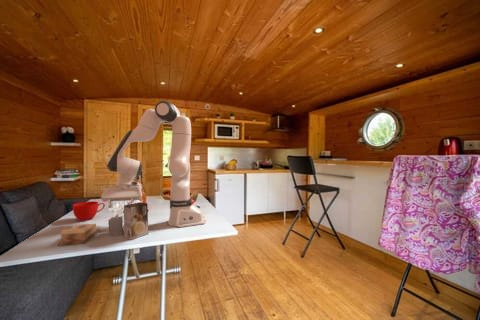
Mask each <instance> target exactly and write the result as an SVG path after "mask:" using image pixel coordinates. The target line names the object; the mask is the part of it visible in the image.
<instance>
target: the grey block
mask: <svg viewBox="0 0 480 320" xmlns="http://www.w3.org/2000/svg"><path fill="white" fill-rule="evenodd" d="M123 226H124V219H123V216H114V217H112V216H111V217H110V218H109V219H108V236H109V237H112V236H121V234H122V233H123V230H124V228H123Z"/></svg>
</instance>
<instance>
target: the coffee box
mask: <svg viewBox="0 0 480 320" xmlns="http://www.w3.org/2000/svg"><path fill="white" fill-rule="evenodd" d="M148 206H149V205H148V203H147V202H142V201H140V202H135V203H134V202H133V203H132V204H129V205H127V204H125V205H123V226H124V228H123V230H124V235H123V236H124V238H125V239H129V240H131V241H133V240H135V239H138V238H141V237H144V236H146V235H149V215H148V214H149V212H148V211H149V209H148Z"/></svg>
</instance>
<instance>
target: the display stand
mask: <svg viewBox="0 0 480 320" xmlns="http://www.w3.org/2000/svg"><path fill="white" fill-rule="evenodd" d="M99 232H100V228H97V223H86V224H85V223H84V224H75V225H74V226H72V227H71V228H69V229H67V228H66V229H62V230H61V240H60V241H59V242H58V243H57V247H62V246H63V247H64V246H75V245H83V244H87V243H89V242H90V240H92V239H93V238H94V237H95V236H96V235H97V234H99Z"/></svg>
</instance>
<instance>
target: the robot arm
mask: <svg viewBox="0 0 480 320" xmlns="http://www.w3.org/2000/svg"><path fill="white" fill-rule="evenodd" d="M162 124H170V125H171V127H172V128H171V130H172V131H171V146H170V147H171V148H170V154H169V155H170V156H169V161H168V172H169V174H170V175H171V180H170V181H171V183H170V199H169V210H170V211H169V212H170V213H169V219H168V222H167V225H168V226H171V227H176V228H186V227H192V226H199V225H204V224H206V223H207V218H206V217H205V216H204V215H203V214H204V213H203V211H202V210H201V208H199V207H198V206H197V205H195V204H194V203H195V200H194V199H193V198H191V196H190V194H191V186H190V185H191V184H190V183H191V163H190V156H191V148H192V147H191V146H192V144H191V143H192V124H191V120H190V118H189V117H188V116H185V115H182V113H181V111H180V108H179V109H178V107H176V105H175V104H173V103H171V102H169V101H167V100H161V101H159V102H157V103H156V105H154V108H147V109H146V110H145V111H144V113H143V114H142V115H141V118H140V119H139V122H138V124H137V126H136V127H135V128H134V129H130V130H129V131H127V133H126V134H125V135H124V136H123V138H122V139H121V141H120V143H119V144H118V146H117V147H116V149H115V150H114V152H113V153H112V154H111V155H110V156H109V158H108V159H107V161H106V168H107V169H108V170H109V172H112V173H113V172H115V173H119V174H118V179H117V181H116V184H115V186H114V185H113V186H107V187H105V188H103V190H102V193H101V195H100V199H101V200H102V202H103V203H104V202H107V203H108V206H107V207H108V208H111V209H112V208H113V203H112V202H121V201H122V202H124V201H127V204H126V205H129V204H134V202H135V201H141V200H142V195H143V193H142V188H141V183H140V182H139V181H135V179H137V178H139V176H140V175H141V174H142V170H143V164H142V162H141V161H140V160H137V159H134V158H130V157H127V156H123V154H124V152H125V150H126V149H127V147H128V146H129V145H130V144H131V143H135V142H138V143H139V142H143V143H144V142H149V141H150V142H151V141H152V140H154V139H155V137H156V135H157V133H158V131H159V128H160V126H161V125H162ZM128 201H129V202H128Z"/></svg>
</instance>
